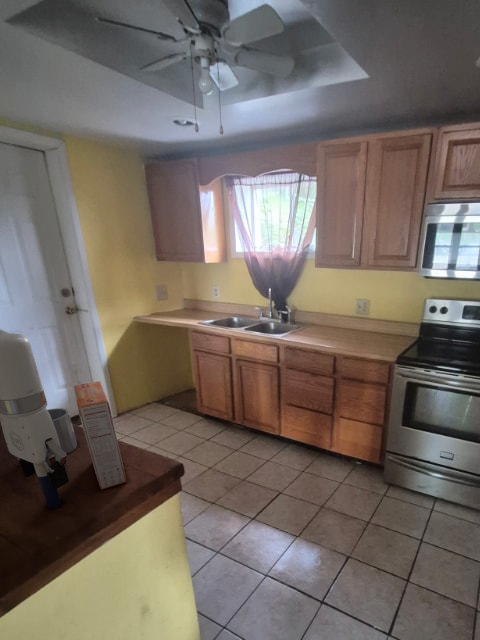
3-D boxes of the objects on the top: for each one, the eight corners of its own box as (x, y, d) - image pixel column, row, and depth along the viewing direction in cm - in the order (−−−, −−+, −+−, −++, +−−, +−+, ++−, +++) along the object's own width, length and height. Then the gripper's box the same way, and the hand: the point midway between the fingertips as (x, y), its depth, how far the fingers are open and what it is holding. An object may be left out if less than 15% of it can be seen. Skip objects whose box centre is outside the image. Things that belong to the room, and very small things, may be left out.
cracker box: (92, 462, 93) (72, 384, 85) (118, 455, 96) (101, 379, 88) (98, 491, 82) (76, 406, 74) (127, 483, 85) (109, 400, 77)
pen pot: (34, 457, 95) (23, 422, 91) (53, 441, 102) (43, 408, 98) (66, 456, 95) (56, 422, 91) (83, 440, 103) (74, 408, 99)
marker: (44, 509, 77) (30, 464, 72) (52, 501, 79) (38, 457, 75) (57, 509, 77) (43, 464, 72) (63, 501, 79) (50, 457, 75)
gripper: (-28, 400, 69) (1, 478, 76) (29, 419, 62) (55, 502, 69) (15, 387, 75) (38, 460, 82) (71, 402, 68) (91, 481, 75)
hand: (46, 479), depth 75 cm, fingers open, 8 cm apart
